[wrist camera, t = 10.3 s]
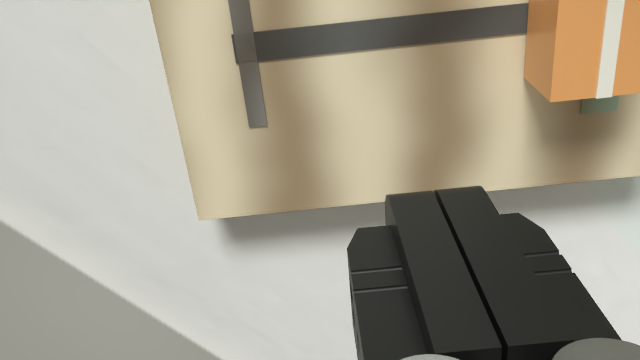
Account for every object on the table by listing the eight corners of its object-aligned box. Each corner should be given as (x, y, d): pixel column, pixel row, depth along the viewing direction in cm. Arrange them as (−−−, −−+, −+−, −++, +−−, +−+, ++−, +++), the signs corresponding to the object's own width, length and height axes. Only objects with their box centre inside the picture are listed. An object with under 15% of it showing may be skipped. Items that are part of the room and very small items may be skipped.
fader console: (207, 190, 31) (198, 221, 28) (132, -163, 24) (111, -166, 21) (632, 146, 31) (665, 174, 28) (691, -226, 23) (743, -238, 21)
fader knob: (523, 77, 26) (550, 103, 23) (531, -47, 23) (562, -35, 21) (618, 67, 26) (657, 92, 23) (635, -58, 23) (680, -48, 20)
